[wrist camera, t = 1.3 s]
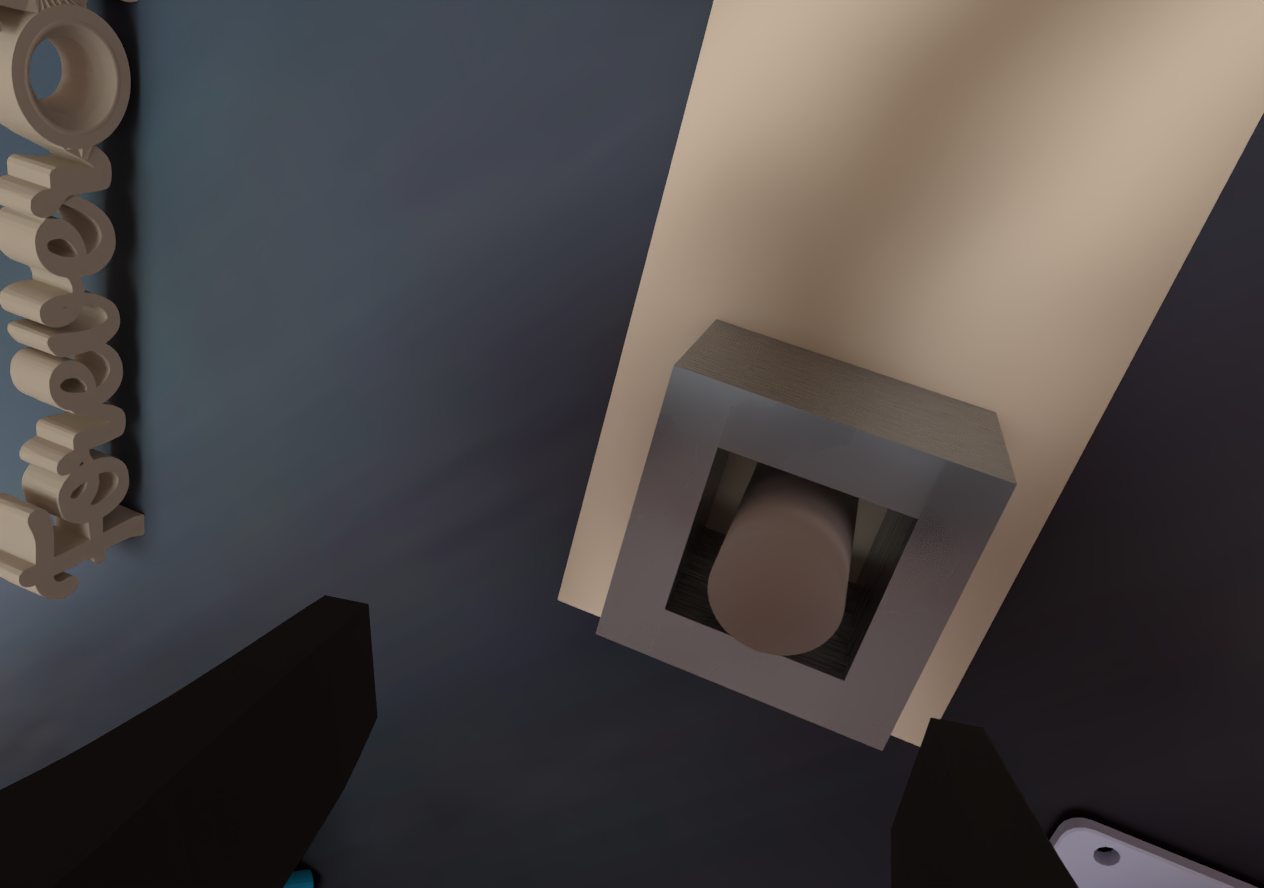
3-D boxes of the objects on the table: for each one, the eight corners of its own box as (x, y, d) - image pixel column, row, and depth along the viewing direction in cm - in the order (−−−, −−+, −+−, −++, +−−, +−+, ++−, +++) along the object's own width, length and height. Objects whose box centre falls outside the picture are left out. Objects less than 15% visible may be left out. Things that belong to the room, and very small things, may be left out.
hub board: (1667, -693, 10) (2315, -1377, 6) (924, 725, 20) (928, 918, 15) (927, -769, 12) (941, -1360, 7) (569, 583, 21) (472, 717, 17)
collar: (996, 412, 16) (1017, 484, 13) (886, 643, 19) (882, 751, 15) (716, 319, 17) (673, 365, 14) (645, 550, 19) (595, 634, 16)
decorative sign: (175, 532, 26) (26, 623, 22) (142, 519, 27) (-12, 606, 22) (142, -572, 16) (-163, -825, 11) (87, -579, 16) (-234, -830, 11)
